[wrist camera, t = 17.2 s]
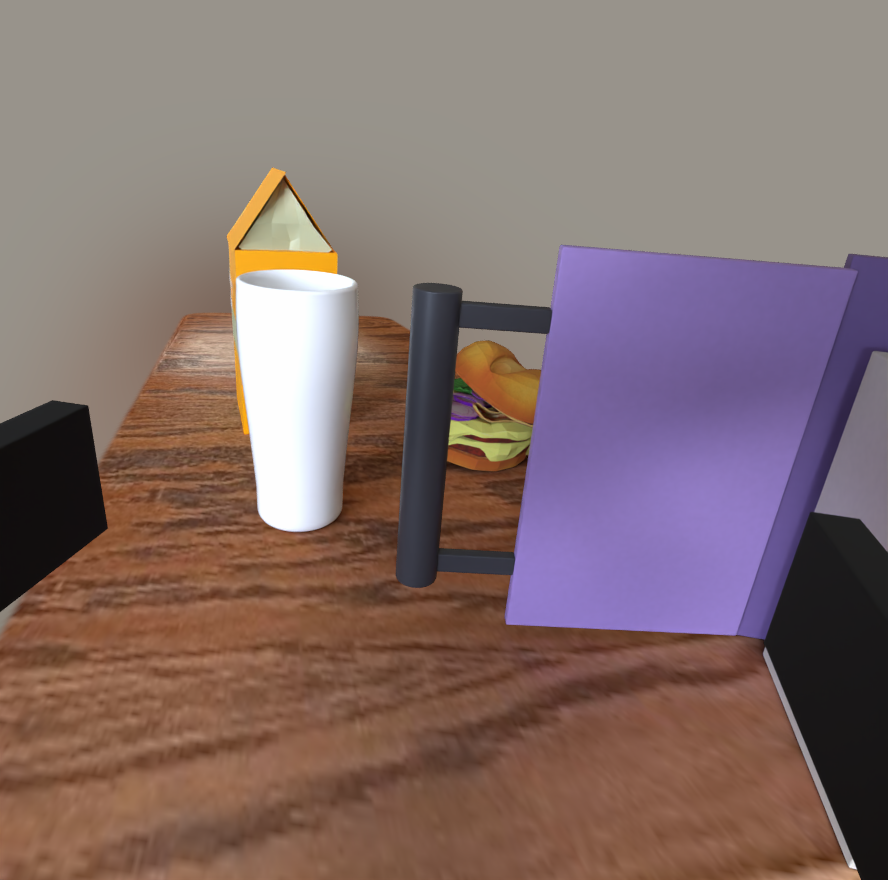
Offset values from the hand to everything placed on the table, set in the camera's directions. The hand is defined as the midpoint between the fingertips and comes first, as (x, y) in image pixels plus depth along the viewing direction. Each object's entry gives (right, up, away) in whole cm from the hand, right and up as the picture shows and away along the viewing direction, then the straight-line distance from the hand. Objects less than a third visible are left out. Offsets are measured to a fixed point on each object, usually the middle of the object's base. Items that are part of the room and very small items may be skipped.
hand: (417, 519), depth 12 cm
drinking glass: (-9, -3, +30) cm, 31 cm away
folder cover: (+7, -8, +21) cm, 23 cm away
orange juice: (-14, +4, +45) cm, 47 cm away
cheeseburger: (+4, 0, +41) cm, 41 cm away
